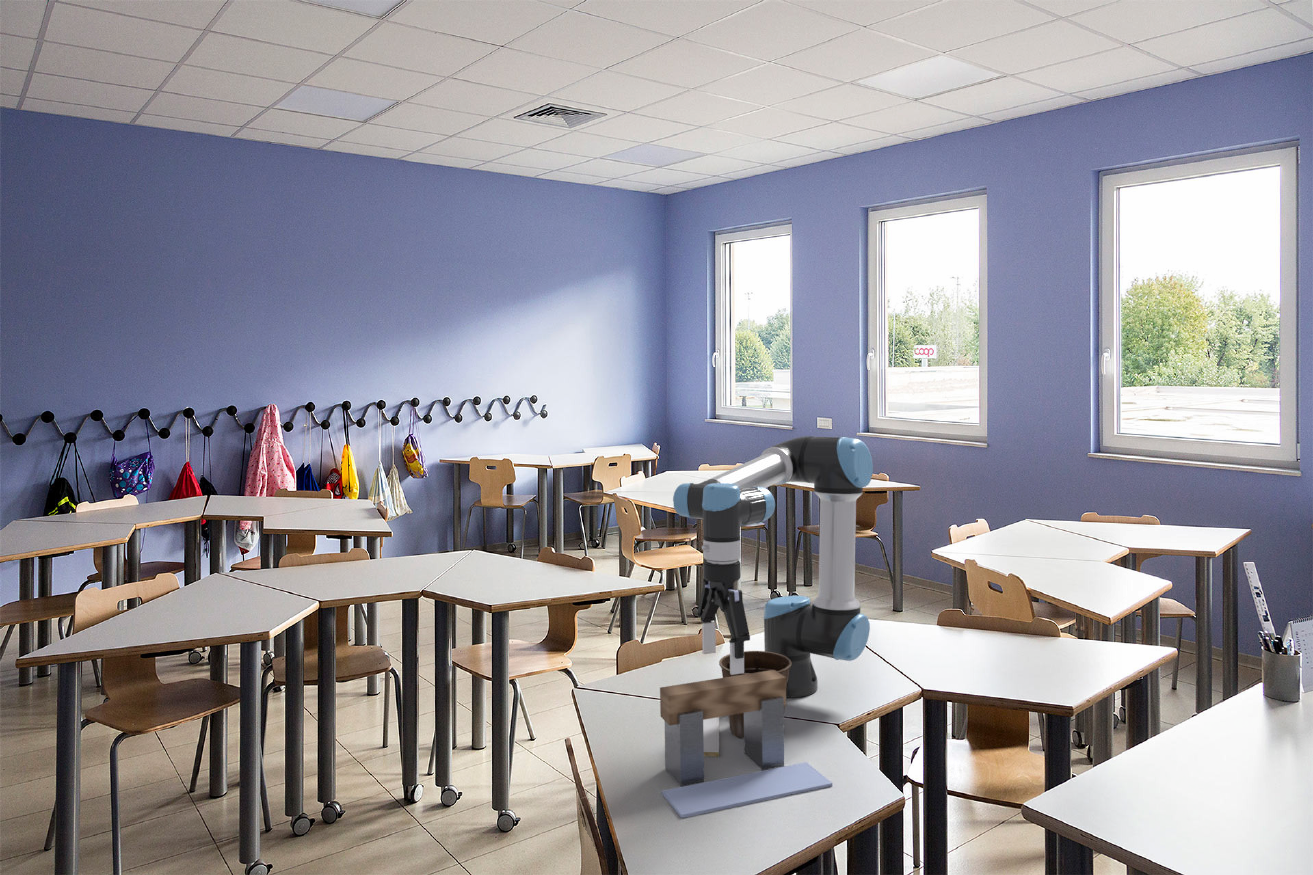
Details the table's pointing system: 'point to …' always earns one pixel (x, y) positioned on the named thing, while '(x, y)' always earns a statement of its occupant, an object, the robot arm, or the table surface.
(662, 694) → the oak rail
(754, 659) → the plant pot
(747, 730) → the stand
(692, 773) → the stand
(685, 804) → the felt pad
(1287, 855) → the table surface
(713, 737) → the baseboard molding
